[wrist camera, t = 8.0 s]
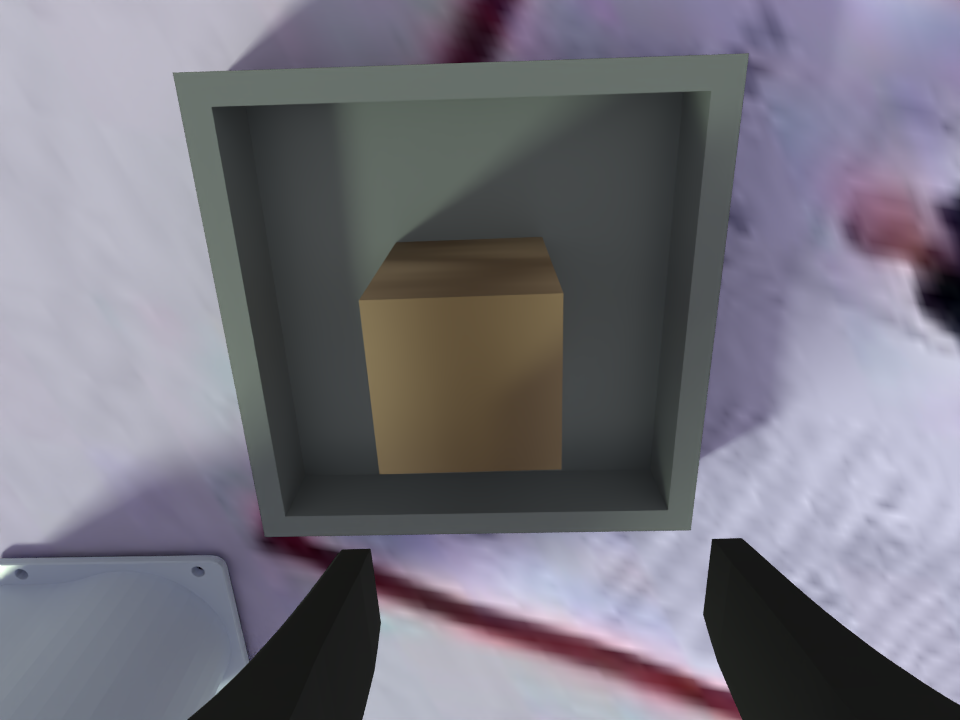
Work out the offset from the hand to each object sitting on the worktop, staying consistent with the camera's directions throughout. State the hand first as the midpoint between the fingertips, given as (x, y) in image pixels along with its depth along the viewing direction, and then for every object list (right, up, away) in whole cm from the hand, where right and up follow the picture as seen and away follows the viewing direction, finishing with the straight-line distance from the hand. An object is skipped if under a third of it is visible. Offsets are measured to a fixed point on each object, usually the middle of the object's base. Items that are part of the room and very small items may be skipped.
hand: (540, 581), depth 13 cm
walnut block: (-2, +6, +7) cm, 9 cm away
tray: (-2, +7, +7) cm, 10 cm away
